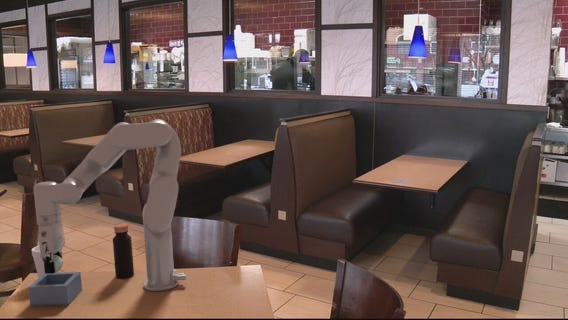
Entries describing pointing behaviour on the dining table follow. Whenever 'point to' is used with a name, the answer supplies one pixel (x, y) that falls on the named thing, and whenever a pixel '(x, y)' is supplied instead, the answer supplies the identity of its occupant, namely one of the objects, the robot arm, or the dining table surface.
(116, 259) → the bottle
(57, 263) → the ball
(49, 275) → the blue-grey open box
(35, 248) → the foam cup
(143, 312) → the dining table surface
